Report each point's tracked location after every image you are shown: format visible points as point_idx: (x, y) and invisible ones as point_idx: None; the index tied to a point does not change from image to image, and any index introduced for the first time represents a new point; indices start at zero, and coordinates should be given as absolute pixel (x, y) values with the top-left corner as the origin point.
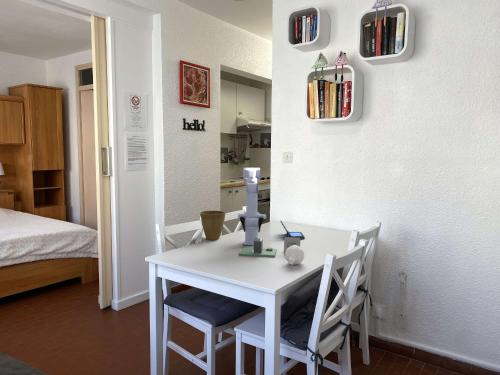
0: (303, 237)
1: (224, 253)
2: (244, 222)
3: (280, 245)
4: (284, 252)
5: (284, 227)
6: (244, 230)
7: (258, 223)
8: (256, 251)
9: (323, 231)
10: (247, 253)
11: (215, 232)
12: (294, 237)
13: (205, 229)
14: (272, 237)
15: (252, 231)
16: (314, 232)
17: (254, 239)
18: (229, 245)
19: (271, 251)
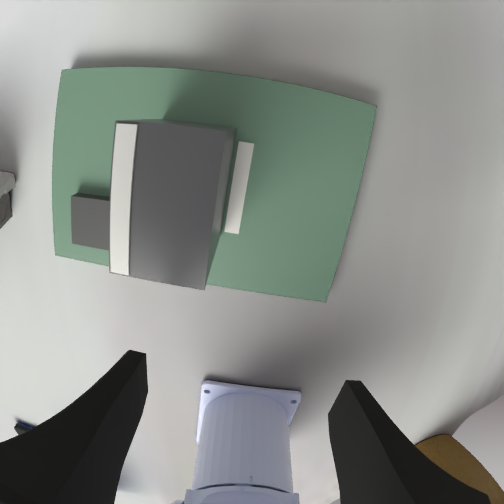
0: (15, 426)
1: (463, 188)
2: (388, 499)
3: (68, 364)
4: (9, 175)
5: None
6: (358, 391)
7: (83, 454)
8: (206, 124)
9: None
10: (297, 103)
11: (441, 464)
12: None
13: (481, 464)
14: (142, 471)
15: (235, 469)
16: None
17: (211, 225)
18: (390, 378)
19: (81, 177)
